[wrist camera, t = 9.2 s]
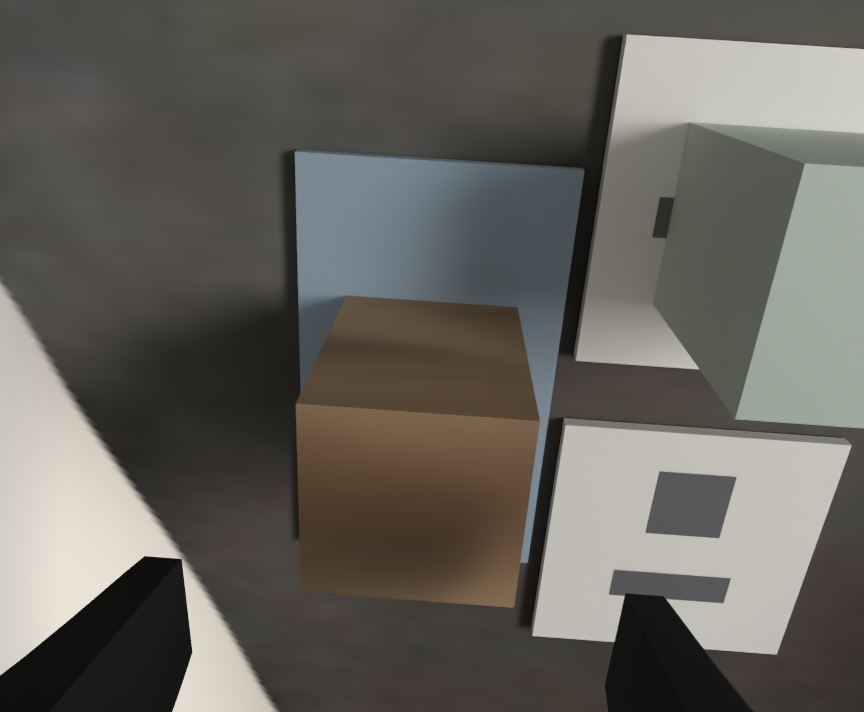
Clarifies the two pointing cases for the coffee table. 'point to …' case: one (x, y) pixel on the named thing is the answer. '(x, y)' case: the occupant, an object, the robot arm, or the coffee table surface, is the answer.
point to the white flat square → (662, 156)
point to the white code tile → (683, 528)
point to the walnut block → (416, 453)
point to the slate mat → (438, 248)
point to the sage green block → (770, 270)
